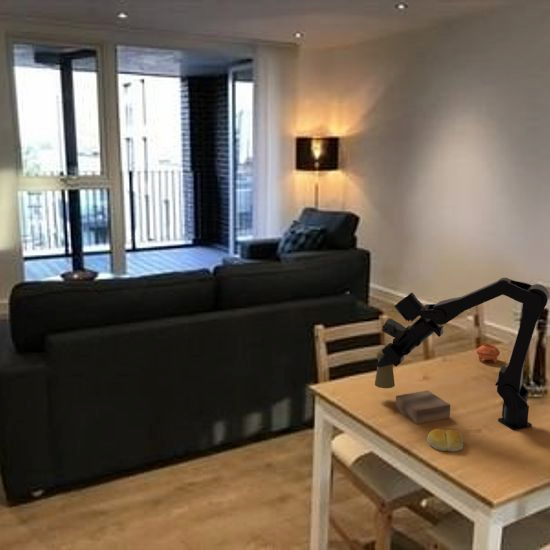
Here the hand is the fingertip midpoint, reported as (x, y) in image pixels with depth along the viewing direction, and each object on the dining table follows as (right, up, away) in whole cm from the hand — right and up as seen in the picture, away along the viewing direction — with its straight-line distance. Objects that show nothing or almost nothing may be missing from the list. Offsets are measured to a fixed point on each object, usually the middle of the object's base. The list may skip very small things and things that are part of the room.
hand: (380, 363), depth 181 cm
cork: (+1, -7, +1) cm, 7 cm away
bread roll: (+12, -17, -27) cm, 34 cm away
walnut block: (+10, -13, -9) cm, 19 cm away
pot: (+45, -4, +34) cm, 56 cm away
